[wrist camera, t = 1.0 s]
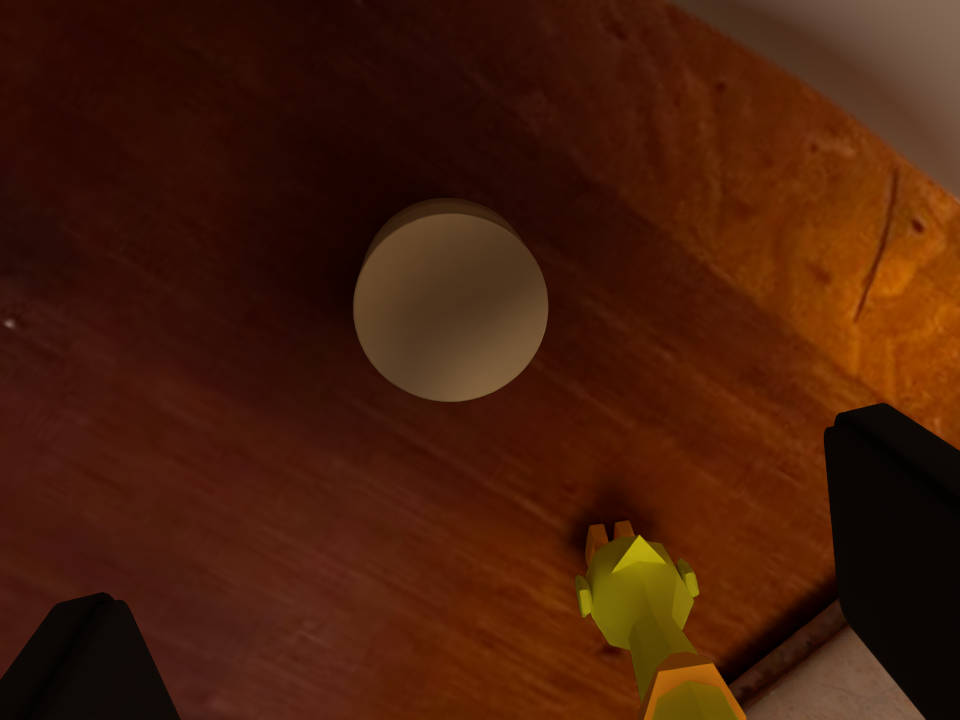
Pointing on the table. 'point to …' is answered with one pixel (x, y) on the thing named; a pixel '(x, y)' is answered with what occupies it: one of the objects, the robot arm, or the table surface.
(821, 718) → the case
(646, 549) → the toy figure
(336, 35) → the table surface
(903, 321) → the table surface
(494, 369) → the cylinder
